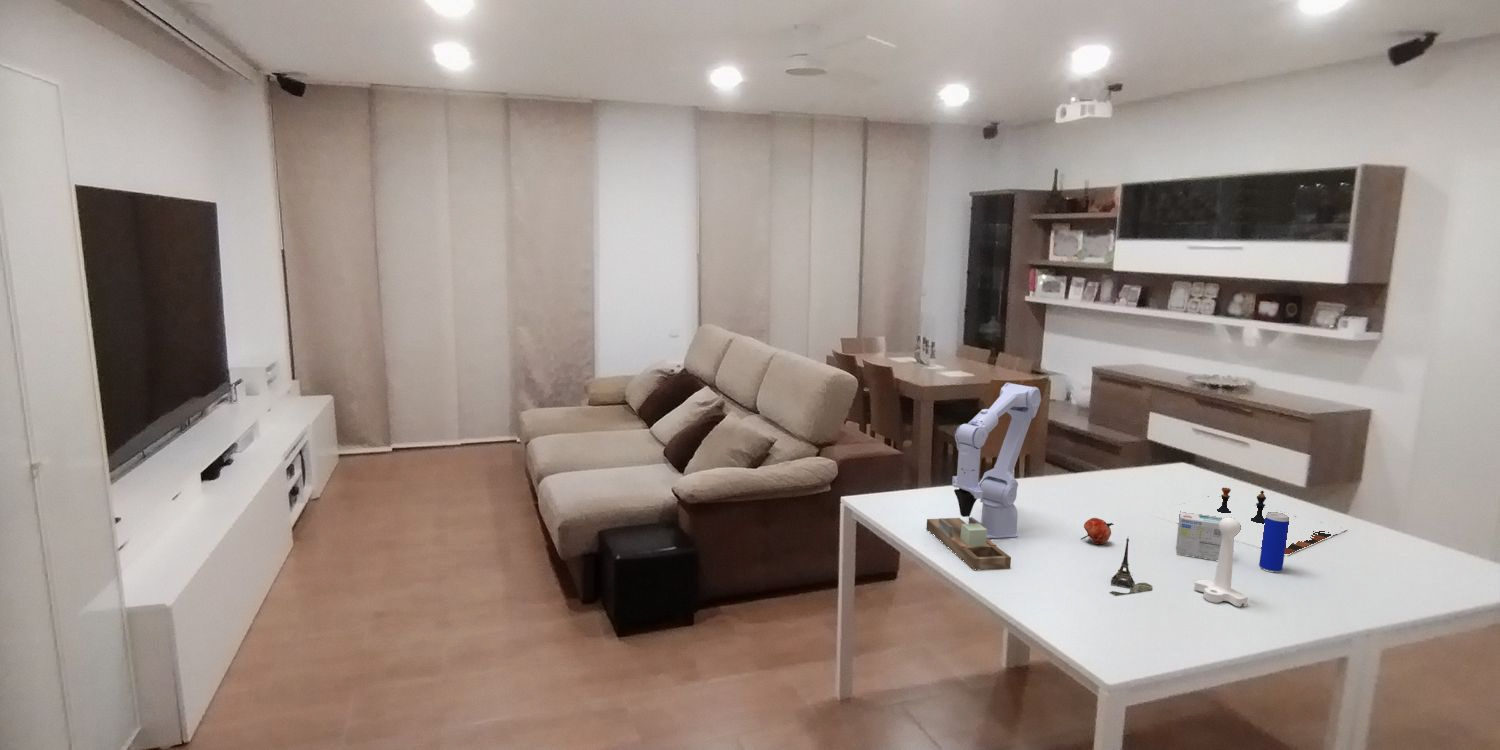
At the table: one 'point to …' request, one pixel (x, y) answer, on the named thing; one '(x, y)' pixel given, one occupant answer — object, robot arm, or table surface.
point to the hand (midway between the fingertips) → (965, 515)
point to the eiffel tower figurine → (1127, 578)
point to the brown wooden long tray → (973, 556)
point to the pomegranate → (1098, 530)
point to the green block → (973, 534)
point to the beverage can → (1274, 541)
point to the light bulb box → (1199, 535)
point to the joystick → (1223, 569)
